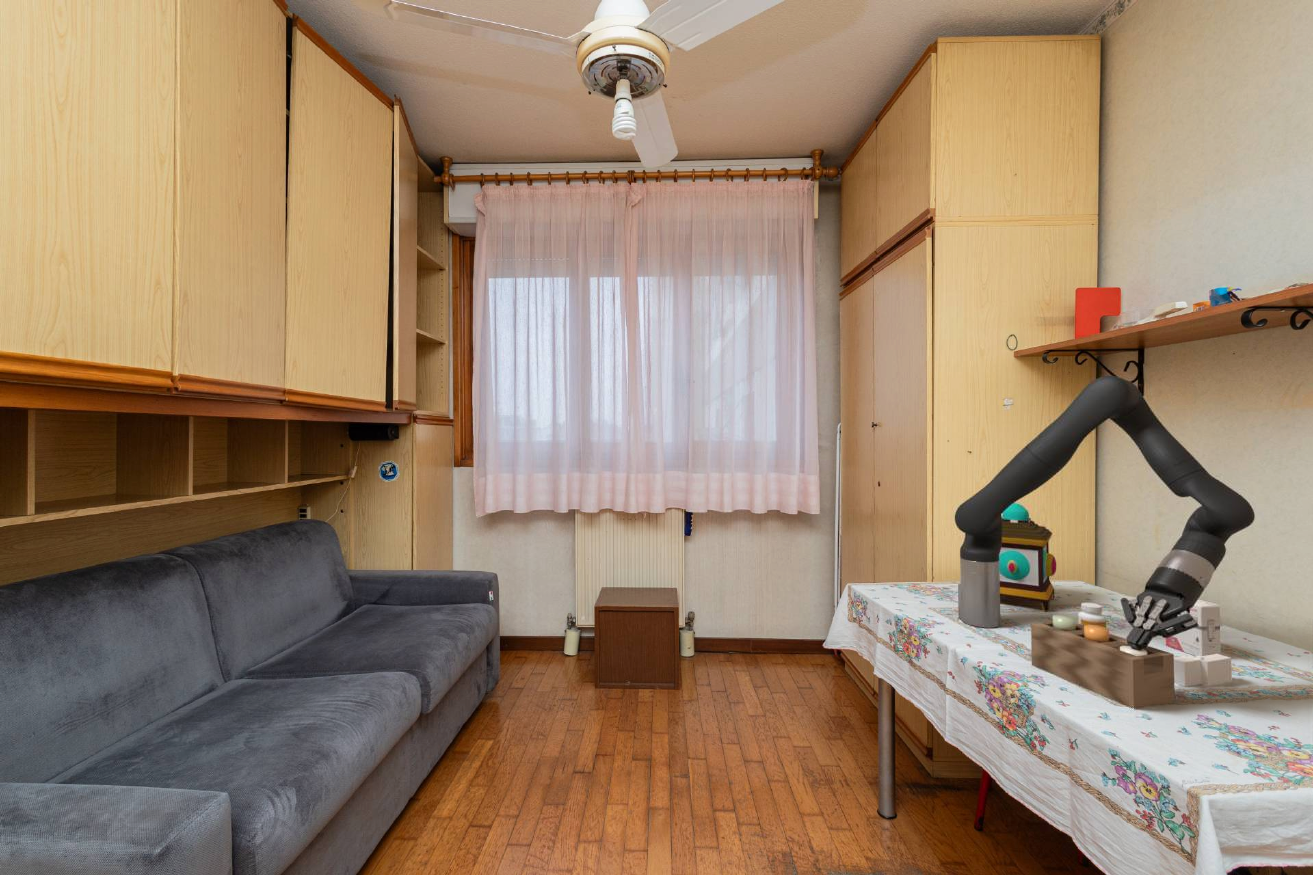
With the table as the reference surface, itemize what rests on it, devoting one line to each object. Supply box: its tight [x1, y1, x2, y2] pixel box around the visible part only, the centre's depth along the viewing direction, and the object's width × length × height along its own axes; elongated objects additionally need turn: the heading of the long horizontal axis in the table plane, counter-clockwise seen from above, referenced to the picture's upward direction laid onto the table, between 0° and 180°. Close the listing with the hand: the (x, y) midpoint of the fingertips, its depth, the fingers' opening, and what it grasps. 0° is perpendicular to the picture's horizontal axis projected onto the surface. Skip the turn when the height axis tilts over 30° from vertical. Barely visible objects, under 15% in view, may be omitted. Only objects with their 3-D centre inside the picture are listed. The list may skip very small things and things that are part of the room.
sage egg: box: [1052, 614, 1077, 632], centre depth 121 cm, size 4×4×3 cm
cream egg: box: [1120, 646, 1147, 656], centre depth 107 cm, size 4×4×3 cm
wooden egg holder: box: [1030, 621, 1176, 710], centre depth 114 cm, size 21×10×9 cm, turn 14°
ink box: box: [1165, 599, 1222, 657], centre depth 130 cm, size 9×5×12 cm, turn 5°
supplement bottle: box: [1077, 602, 1107, 628], centre depth 134 cm, size 5×5×10 cm
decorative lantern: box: [999, 502, 1057, 613], centre depth 172 cm, size 20×20×30 cm
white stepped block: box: [1174, 654, 1233, 688], centre depth 114 cm, size 15×11×6 cm
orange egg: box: [1084, 625, 1110, 643], centre depth 114 cm, size 4×4×3 cm
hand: (1133, 646), depth 107 cm, fingers closed
